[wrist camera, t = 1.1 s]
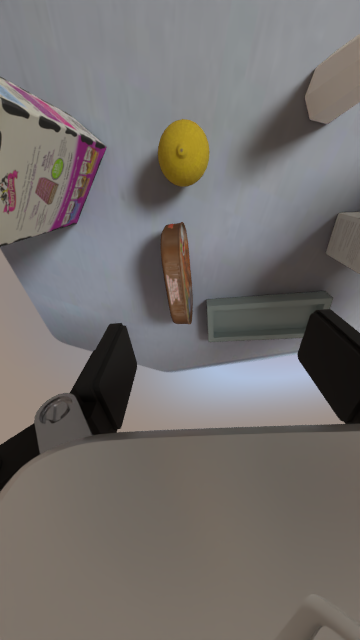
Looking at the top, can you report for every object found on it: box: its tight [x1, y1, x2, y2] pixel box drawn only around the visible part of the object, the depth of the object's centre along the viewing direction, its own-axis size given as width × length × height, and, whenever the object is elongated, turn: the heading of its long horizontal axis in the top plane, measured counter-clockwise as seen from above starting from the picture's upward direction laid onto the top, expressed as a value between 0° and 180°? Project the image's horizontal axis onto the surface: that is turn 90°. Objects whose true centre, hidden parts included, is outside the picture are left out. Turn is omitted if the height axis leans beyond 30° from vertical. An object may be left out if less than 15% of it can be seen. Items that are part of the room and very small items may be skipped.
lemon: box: [158, 119, 209, 187], centre depth 21 cm, size 6×6×8 cm
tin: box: [161, 222, 193, 324], centre depth 29 cm, size 15×3×8 cm, turn 7°
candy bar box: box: [0, 77, 106, 247], centre depth 20 cm, size 11×5×16 cm, turn 143°
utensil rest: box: [206, 291, 333, 342], centre depth 36 cm, size 20×8×2 cm, turn 96°
